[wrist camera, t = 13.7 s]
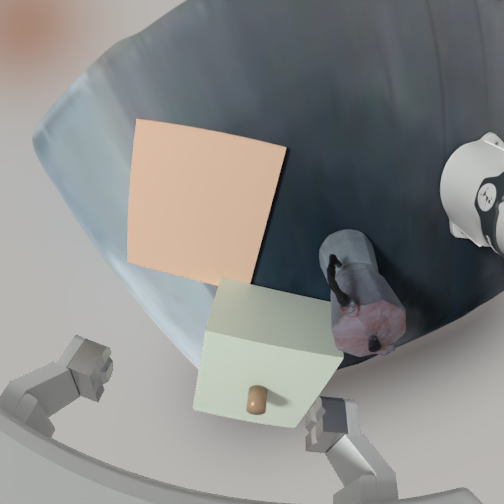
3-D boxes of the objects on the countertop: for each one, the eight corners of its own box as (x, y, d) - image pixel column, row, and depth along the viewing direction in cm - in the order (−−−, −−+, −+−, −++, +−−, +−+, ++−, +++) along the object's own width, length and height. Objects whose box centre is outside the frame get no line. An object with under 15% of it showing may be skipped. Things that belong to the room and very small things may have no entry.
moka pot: (348, 297, 52) (368, 389, 35) (288, 238, 48) (289, 328, 31) (391, 264, 48) (432, 351, 31) (335, 198, 44) (367, 273, 27)
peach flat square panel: (286, 147, 41) (286, 147, 41) (248, 291, 54) (247, 293, 53) (138, 118, 41) (136, 118, 40) (128, 260, 53) (127, 262, 52)
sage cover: (334, 302, 52) (347, 379, 38) (294, 379, 64) (293, 445, 50) (221, 277, 52) (199, 351, 38) (204, 361, 64) (188, 426, 49)
